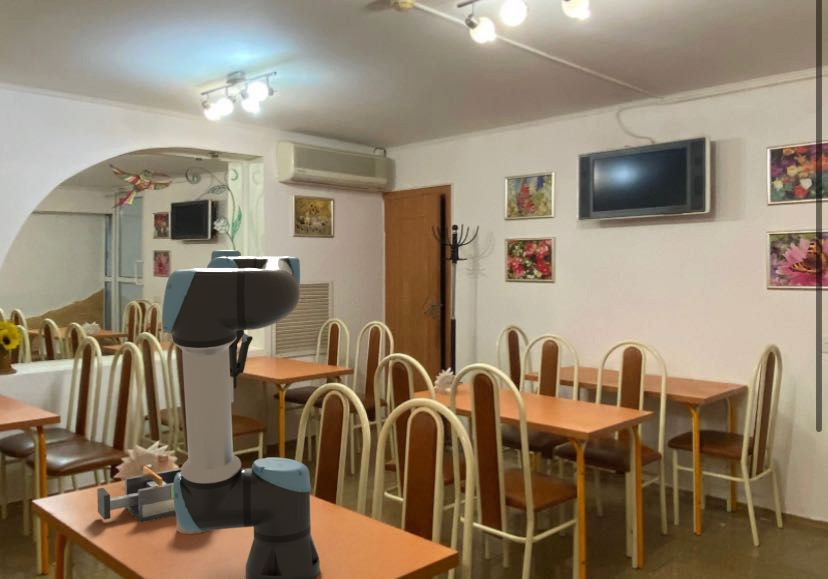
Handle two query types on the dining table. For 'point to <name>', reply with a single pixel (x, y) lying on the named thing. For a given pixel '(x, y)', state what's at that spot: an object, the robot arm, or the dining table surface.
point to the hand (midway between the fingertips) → (228, 401)
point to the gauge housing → (152, 496)
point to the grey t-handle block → (124, 496)
